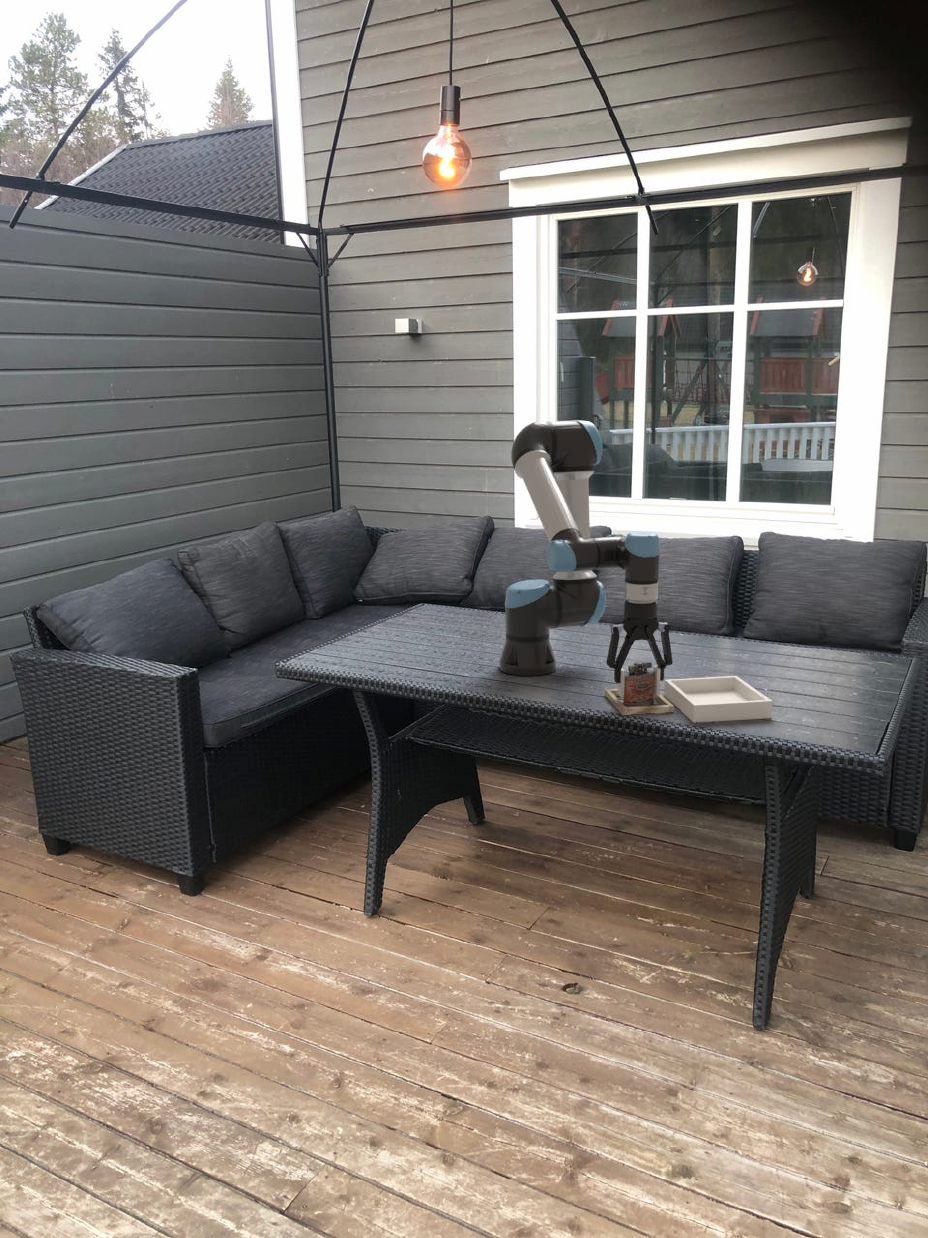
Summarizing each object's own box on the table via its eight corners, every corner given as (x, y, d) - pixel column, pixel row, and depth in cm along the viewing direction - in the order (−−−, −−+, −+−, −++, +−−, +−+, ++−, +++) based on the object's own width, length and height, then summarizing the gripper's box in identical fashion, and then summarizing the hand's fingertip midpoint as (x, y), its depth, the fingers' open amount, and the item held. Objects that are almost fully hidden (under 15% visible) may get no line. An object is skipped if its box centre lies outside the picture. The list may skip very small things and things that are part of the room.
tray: (693, 722, 214) (694, 705, 213) (664, 695, 233) (664, 679, 232) (771, 718, 216) (772, 701, 215) (735, 691, 235) (736, 675, 234)
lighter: (627, 708, 224) (628, 666, 222) (619, 704, 227) (620, 663, 225) (656, 703, 227) (658, 662, 225) (648, 699, 230) (649, 659, 228)
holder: (622, 715, 219) (622, 709, 219) (605, 695, 234) (605, 689, 234) (673, 712, 221) (673, 706, 220) (653, 692, 235) (653, 687, 235)
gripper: (601, 605, 217) (599, 702, 222) (690, 601, 219) (686, 697, 224) (592, 598, 224) (591, 692, 229) (679, 594, 227) (675, 687, 232)
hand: (638, 694), depth 227 cm, fingers closed on lighter, 8 cm apart
